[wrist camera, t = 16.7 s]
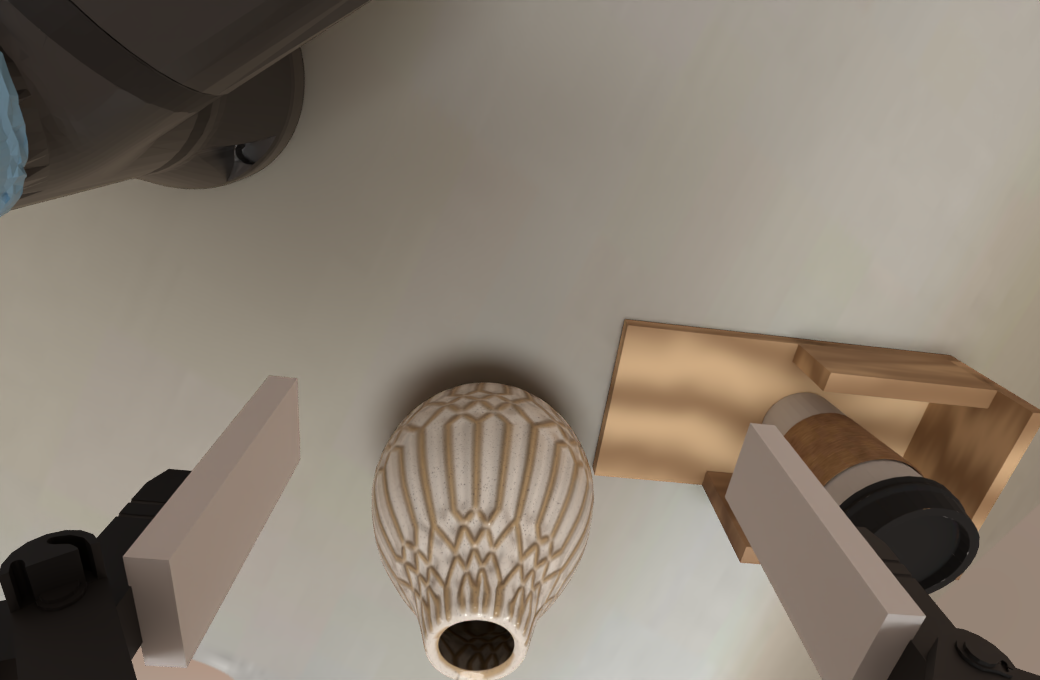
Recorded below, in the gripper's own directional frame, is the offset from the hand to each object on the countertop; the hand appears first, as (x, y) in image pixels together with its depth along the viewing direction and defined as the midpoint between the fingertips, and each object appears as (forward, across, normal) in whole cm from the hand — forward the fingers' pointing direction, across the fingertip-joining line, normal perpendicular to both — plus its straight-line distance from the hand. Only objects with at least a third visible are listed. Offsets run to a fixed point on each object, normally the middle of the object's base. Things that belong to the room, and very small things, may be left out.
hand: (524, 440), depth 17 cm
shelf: (+27, +23, -13) cm, 38 cm away
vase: (+27, 0, -18) cm, 32 cm away
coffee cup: (+26, +25, -13) cm, 38 cm away
